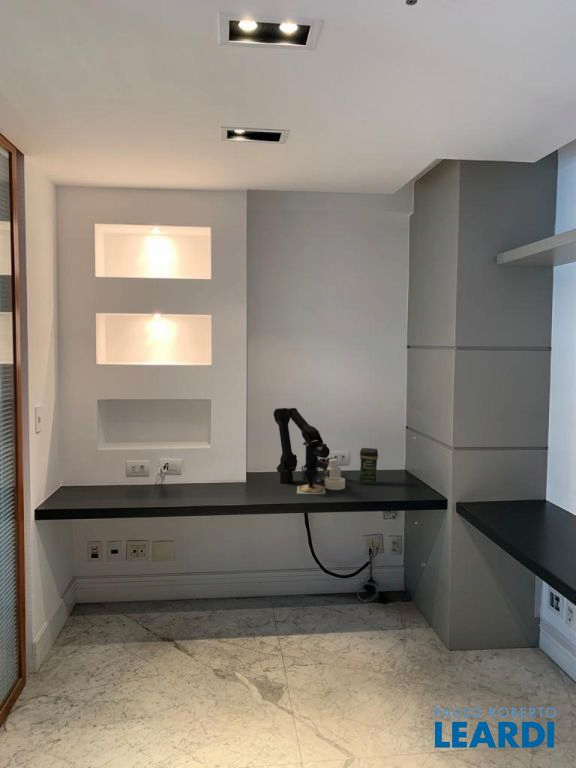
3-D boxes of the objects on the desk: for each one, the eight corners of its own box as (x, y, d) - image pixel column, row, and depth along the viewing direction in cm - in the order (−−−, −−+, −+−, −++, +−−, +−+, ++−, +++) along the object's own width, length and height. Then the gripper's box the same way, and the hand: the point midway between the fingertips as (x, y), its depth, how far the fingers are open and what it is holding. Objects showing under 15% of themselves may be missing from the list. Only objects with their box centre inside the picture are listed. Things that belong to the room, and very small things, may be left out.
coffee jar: (358, 484, 300) (358, 449, 299) (360, 480, 308) (360, 446, 307) (376, 485, 298) (377, 450, 296) (378, 482, 305) (379, 447, 304)
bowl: (325, 490, 288) (325, 481, 287) (324, 485, 298) (324, 477, 297) (345, 490, 287) (345, 482, 287) (344, 485, 297) (344, 477, 297)
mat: (296, 494, 280) (296, 493, 280) (297, 487, 294) (297, 486, 294) (325, 494, 280) (325, 493, 280) (324, 487, 294) (324, 486, 294)
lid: (298, 492, 281) (299, 482, 281) (299, 486, 293) (299, 476, 293) (323, 493, 281) (323, 482, 280) (322, 486, 293) (323, 476, 292)
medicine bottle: (322, 479, 310) (322, 457, 309) (334, 478, 313) (334, 456, 312) (329, 482, 304) (329, 460, 303) (340, 481, 307) (341, 459, 306)
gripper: (328, 458, 276) (328, 491, 277) (327, 451, 295) (326, 481, 296) (305, 458, 276) (304, 490, 278) (305, 451, 295) (305, 481, 296)
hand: (311, 485), depth 287 cm, fingers closed on lid, 3 cm apart
